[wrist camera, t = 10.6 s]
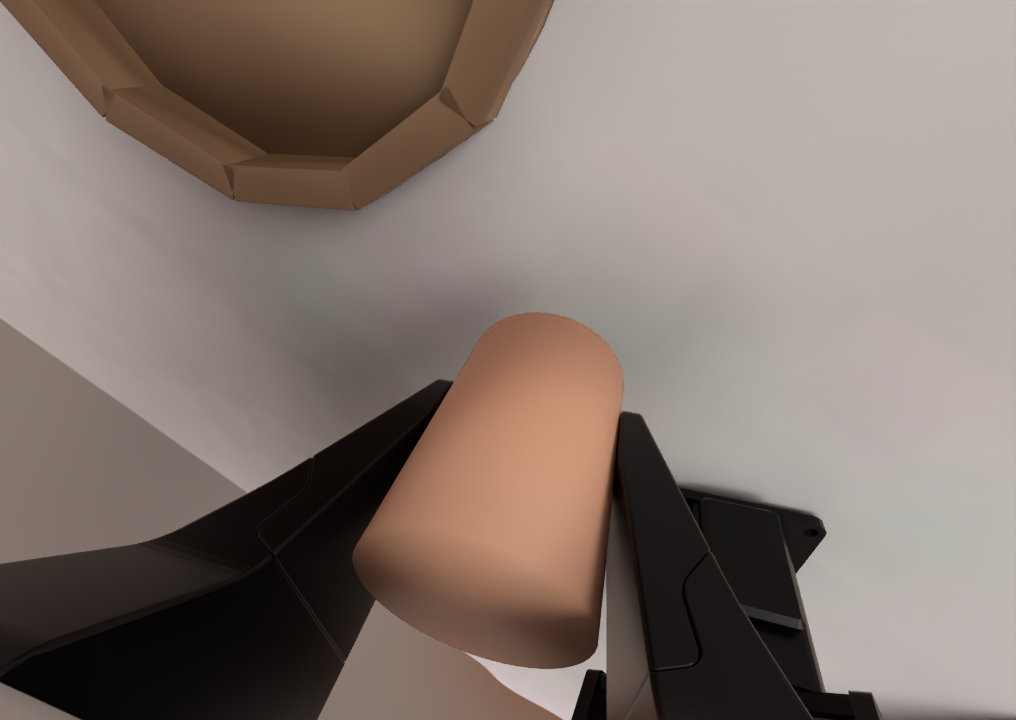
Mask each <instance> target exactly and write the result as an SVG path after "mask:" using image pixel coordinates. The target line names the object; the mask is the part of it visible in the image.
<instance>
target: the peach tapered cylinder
mask: <svg viewBox="0 0 1016 720" xmlns="http://www.w3.org/2000/svg"><path fill="white" fill-rule="evenodd" d="M623 388H624V379H623V373H622V369H621V366H620V363H619V361H618V358H617V357H616V355H615V354H614V352H613V350H612V349H611V348H610V347H609V345H608V344H607V343H606V342H605V341H604V340H603V339H602V338H601V337H600V336H599V335H598V334H596V333H595V332H594V331H592V330H591V329H589V328H588V327H586V326H584V325H582V324H581V323H579V322H576V321H574V320H572V319H569V318H566V317H563V316H559V315H554V314H549V313H537V312H536V313H523V314H518V315H514V316H511V317H507V318H505V319H503V320H501V321H499V322H497V323H496V324H494V325H493V326H491V327H490V328H489V329H488V330H487V331H486V332H485V333H484V334H483V335H482V337H481V338H480V339H479V341H478V343H477V344H476V346H475V348H474V349H473V351H472V353H471V354H470V356H469V358H468V359H467V361H466V363H465V364H464V366H463V368H462V369H461V371H460V373H459V374H458V376H457V378H456V379H455V381H454V383H453V384H452V386H451V388H450V389H449V391H448V393H447V394H446V396H445V398H444V399H443V401H442V403H441V405H440V406H439V408H438V410H437V411H436V413H435V415H434V416H433V418H432V420H431V421H430V423H429V425H428V426H427V428H426V430H425V431H424V433H423V435H422V436H421V438H420V440H419V441H418V443H417V445H416V446H415V448H414V450H413V451H412V453H411V455H410V456H409V458H408V460H407V461H406V463H405V465H404V466H403V468H402V470H401V471H400V473H399V475H398V476H397V478H396V480H395V481H394V483H393V485H392V486H391V488H390V490H389V491H388V493H387V495H386V497H385V498H384V500H383V502H382V503H381V505H380V507H379V508H378V510H377V512H376V513H375V515H374V517H373V518H372V520H371V522H370V523H369V525H368V527H367V528H366V530H365V532H364V533H363V535H362V537H361V538H360V540H359V542H358V543H357V545H356V547H355V549H354V551H353V557H352V560H353V566H354V569H355V572H356V574H357V576H358V578H359V579H360V581H361V582H362V584H363V585H364V586H365V588H366V589H367V590H368V591H369V592H370V594H371V595H372V596H373V597H374V598H375V599H377V600H378V601H379V602H380V603H381V604H382V605H383V606H384V607H385V608H387V609H388V610H389V611H390V612H392V613H393V614H395V615H396V616H397V617H399V618H400V619H401V620H403V621H405V622H406V623H408V624H409V625H411V626H412V627H414V628H416V629H418V630H419V631H421V632H423V633H425V634H426V635H428V636H430V637H432V638H434V639H436V640H438V641H441V642H443V643H445V644H447V645H450V646H452V647H454V648H457V649H459V650H462V651H464V652H467V653H470V654H473V655H476V656H479V657H482V658H485V659H489V660H492V661H496V662H500V663H504V664H509V665H514V666H521V667H528V668H540V669H555V668H565V667H570V666H574V665H577V664H580V663H582V662H584V661H586V660H587V659H589V658H590V657H591V656H592V655H593V654H594V653H595V651H596V649H597V647H598V638H599V628H600V618H601V608H602V598H603V588H604V578H605V568H606V558H607V548H608V538H609V528H610V518H611V508H612V498H613V488H614V478H615V465H616V453H617V444H618V434H619V424H620V415H621V408H622V398H623Z"/></svg>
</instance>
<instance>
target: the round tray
mask: <svg viewBox="0 0 1016 720" xmlns="http://www.w3.org/2000/svg"><path fill="white" fill-rule="evenodd" d="M0 2H1V3H2V4H3V5H4V6H5V7H6V8H7V9H8V11H9V12H10V13H11V14H12V15H13V16H14V17H15V19H16V20H17V21H18V22H19V23H20V24H21V25H22V26H23V28H24V29H25V30H26V31H27V32H28V33H29V34H30V36H31V37H32V38H33V39H34V40H35V41H36V42H37V43H38V45H39V46H40V47H41V48H42V49H43V50H44V51H45V53H46V54H47V55H48V56H49V57H50V58H51V59H52V61H53V62H54V63H55V64H56V65H57V66H58V67H59V68H60V70H61V71H62V72H63V73H64V74H65V75H66V76H67V78H68V79H69V80H70V81H71V82H72V83H73V84H74V85H75V87H76V88H77V89H78V90H79V91H80V92H81V93H82V95H83V96H84V97H85V98H86V99H87V100H88V101H89V102H90V104H91V105H92V106H93V107H94V108H95V109H96V110H97V112H98V113H99V114H100V115H101V116H102V117H106V120H107V121H108V122H109V123H111V124H112V125H114V126H116V127H117V128H119V129H120V130H122V131H124V132H125V133H127V134H128V135H130V136H132V137H133V138H135V139H136V140H138V141H140V142H141V143H143V144H144V145H146V146H148V147H149V148H151V149H152V150H154V151H155V152H157V153H159V154H160V155H162V156H163V157H165V158H167V159H168V160H170V161H171V162H173V163H175V164H176V165H178V166H179V167H181V168H183V169H184V170H186V171H187V172H189V173H190V174H192V175H194V176H195V177H197V178H198V179H200V180H202V181H203V182H205V183H206V184H208V185H210V186H211V187H213V188H214V189H216V190H218V191H219V192H221V193H222V194H224V195H226V196H227V197H229V198H230V199H232V200H234V199H236V201H240V202H253V203H265V204H278V205H290V206H303V207H315V208H328V209H341V210H353V211H355V210H357V209H358V210H359V209H361V208H362V207H364V206H366V205H368V204H370V203H371V202H373V201H375V200H377V199H379V198H380V197H382V196H384V195H386V194H387V193H389V192H390V191H392V190H393V189H395V188H396V187H398V186H399V185H401V184H402V183H403V182H405V181H406V180H408V179H409V178H411V177H412V176H414V175H415V174H417V173H418V172H420V171H421V170H422V169H424V168H425V167H427V166H428V165H430V164H431V163H433V162H434V161H436V160H438V159H439V158H441V157H443V156H444V155H446V154H447V153H448V152H449V151H451V150H452V149H453V148H455V147H456V146H458V145H459V144H461V143H462V142H463V141H465V140H466V139H468V138H469V137H471V136H472V135H474V134H475V133H477V132H478V131H480V130H481V129H482V128H484V127H485V126H487V125H488V124H490V123H491V122H493V118H496V117H497V115H498V113H499V111H500V109H501V107H502V104H503V102H504V100H505V98H506V96H507V93H508V91H509V89H510V87H511V85H512V83H513V81H514V80H515V78H516V77H517V76H518V74H519V73H520V71H521V69H522V67H523V65H524V63H525V61H526V60H527V58H528V56H529V54H530V52H531V50H532V48H533V46H534V45H535V43H536V41H537V39H538V37H539V35H540V33H541V31H542V29H543V27H544V24H545V22H546V19H547V17H548V14H549V12H550V9H551V7H552V4H553V2H554V0H0Z"/></svg>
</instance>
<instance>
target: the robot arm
mask: <svg viewBox="0 0 1016 720" xmlns="http://www.w3.org/2000/svg"><path fill="white" fill-rule="evenodd" d="M453 383H454V382H453V381H447V380H442V379H439V380H437V381H435V382H433V383H432V384H430V385H428V386H427V387H425V388H423V389H422V390H420V391H418V392H417V393H415V394H414V395H412V396H410V397H409V398H407V399H405V400H404V401H402V402H400V403H399V404H397V405H396V406H394V407H392V408H391V409H389V410H387V411H386V412H384V413H383V414H381V415H379V416H378V417H376V418H374V419H373V420H371V421H369V422H368V423H366V424H365V425H363V426H361V427H360V428H358V429H356V430H355V431H353V432H351V433H350V434H348V435H347V436H345V437H343V438H342V439H340V440H338V441H337V442H335V443H333V444H332V445H330V446H329V447H327V448H325V449H324V450H322V451H320V452H319V453H317V454H316V455H314V456H313V458H309V459H307V460H306V461H304V462H302V463H301V464H299V465H297V466H296V467H294V468H292V469H291V470H289V471H287V472H285V473H284V474H282V475H280V476H279V477H277V478H275V479H274V480H272V481H270V482H268V483H266V484H264V485H263V486H261V487H259V488H257V489H255V490H253V491H251V492H250V493H248V494H246V495H244V496H242V497H240V498H238V499H236V500H234V501H233V502H230V503H228V504H227V505H225V506H223V507H221V508H219V509H217V510H215V511H213V512H211V513H209V514H207V515H205V516H204V517H201V518H199V519H197V520H196V521H194V522H192V523H190V524H188V525H186V526H184V527H182V528H180V529H178V530H176V531H174V532H172V533H169V534H167V535H164V536H162V537H159V538H156V539H153V540H150V541H146V542H142V543H138V544H133V545H127V546H120V547H113V548H106V549H99V550H92V551H86V552H79V553H72V554H65V555H58V556H51V557H44V558H37V559H31V560H24V561H17V562H10V563H3V564H0V720H317V719H318V717H319V715H320V713H321V711H322V709H323V707H324V705H325V703H326V701H327V699H328V697H329V695H330V693H331V690H332V689H333V686H334V684H335V682H336V680H337V678H338V676H339V674H340V672H341V670H342V668H343V666H344V664H345V662H344V661H346V659H347V657H348V655H349V653H350V651H351V649H352V647H353V645H354V643H355V641H356V639H357V637H358V635H359V633H360V631H361V629H362V627H363V625H364V623H365V621H366V619H367V617H368V615H369V613H370V610H371V608H372V606H373V604H374V602H375V600H376V599H375V598H374V597H373V596H372V595H371V594H370V592H369V591H368V590H367V589H366V588H365V586H364V585H363V584H362V582H361V581H360V579H359V578H358V576H357V574H356V572H355V569H354V566H353V560H352V557H353V551H354V549H355V547H356V545H357V543H358V542H359V540H360V538H361V537H362V535H363V533H364V532H365V530H366V528H367V527H368V525H369V523H370V522H371V520H372V518H373V517H374V515H375V513H376V512H377V510H378V508H379V507H380V505H381V503H382V502H383V500H384V498H385V497H386V495H387V493H388V491H389V490H390V488H391V486H392V485H393V483H394V481H395V480H396V478H397V476H398V475H399V473H400V471H401V470H402V468H403V466H404V465H405V463H406V461H407V460H408V458H409V456H410V455H411V453H412V451H413V450H414V448H415V446H416V445H417V443H418V441H419V440H420V438H421V436H422V435H423V433H424V431H425V430H426V428H427V426H428V425H429V423H430V421H431V420H432V418H433V416H434V415H435V413H436V411H437V410H438V408H439V406H440V405H441V403H442V401H443V399H444V398H445V396H446V394H447V393H448V391H449V389H450V388H451V386H452V384H453ZM825 536H826V530H825V527H824V524H823V522H822V520H820V519H819V518H817V517H814V516H810V515H805V514H800V513H796V512H791V511H786V510H781V509H777V508H772V507H767V506H762V505H758V504H753V503H748V502H743V501H738V500H734V499H729V498H724V497H719V496H715V495H710V494H705V493H700V492H695V491H691V490H686V489H681V488H679V487H678V485H677V483H676V481H675V479H674V477H673V476H672V474H671V472H670V470H669V468H668V466H667V464H666V462H665V460H664V458H663V456H662V454H661V452H660V450H659V448H658V446H657V444H656V442H655V440H654V438H653V436H652V435H651V433H650V431H649V429H648V427H647V425H646V423H645V421H644V419H643V417H642V416H641V415H640V414H638V413H632V412H626V411H623V412H622V413H621V415H620V424H619V434H618V444H617V453H616V465H615V478H614V488H613V498H612V508H611V518H610V528H609V538H608V548H607V674H605V673H604V672H603V671H602V670H592V669H588V670H587V672H586V675H585V678H584V681H583V684H582V687H581V691H580V694H579V697H578V700H577V703H576V707H575V710H574V713H573V716H572V720H884V719H883V717H882V715H881V713H880V710H879V708H878V706H877V704H876V701H875V699H874V697H873V695H872V693H870V692H858V691H848V692H849V695H847V694H836V693H826V692H825V688H824V684H823V680H822V676H821V672H820V668H819V664H818V661H817V657H816V653H815V649H814V645H813V641H812V637H811V633H810V629H809V625H808V622H807V618H806V614H805V610H804V606H803V602H802V598H801V594H800V590H799V586H798V583H797V579H796V575H795V574H796V573H797V571H798V570H799V569H800V568H801V566H802V565H803V564H804V563H805V561H806V560H807V559H808V557H809V556H810V555H811V554H812V552H813V551H814V550H815V549H816V547H817V546H818V545H819V543H820V542H821V541H822V540H823V538H824V537H825Z"/></svg>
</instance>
